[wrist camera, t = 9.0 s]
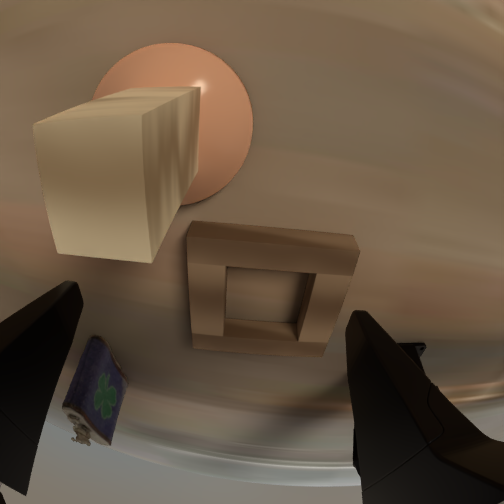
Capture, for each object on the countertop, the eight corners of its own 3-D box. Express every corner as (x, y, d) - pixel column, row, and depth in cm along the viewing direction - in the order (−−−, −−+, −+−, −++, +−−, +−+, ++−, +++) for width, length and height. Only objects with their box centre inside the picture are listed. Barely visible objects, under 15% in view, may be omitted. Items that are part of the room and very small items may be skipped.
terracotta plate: (246, 204, 20) (245, 211, 19) (102, 195, 20) (96, 202, 19) (260, 45, 15) (260, 44, 14) (94, 51, 14) (86, 51, 13)
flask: (131, 384, 34) (110, 462, 25) (110, 381, 34) (87, 456, 25) (106, 335, 29) (70, 426, 20) (82, 332, 29) (44, 418, 20)
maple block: (198, 171, 18) (152, 263, 10) (134, 168, 18) (57, 253, 10) (200, 86, 15) (141, 115, 8) (131, 88, 15) (32, 124, 8)
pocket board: (319, 339, 27) (322, 357, 26) (196, 330, 27) (193, 348, 26) (353, 235, 21) (360, 251, 20) (192, 220, 21) (186, 236, 19)
